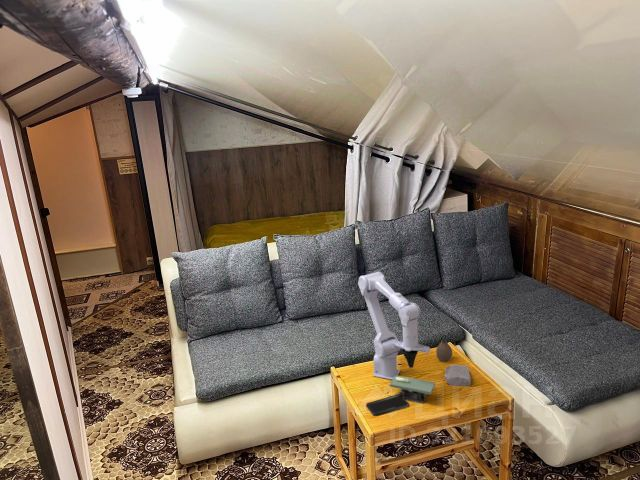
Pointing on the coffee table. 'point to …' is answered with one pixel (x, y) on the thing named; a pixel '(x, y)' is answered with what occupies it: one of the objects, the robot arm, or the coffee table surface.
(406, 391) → the tribrach base
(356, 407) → the coffee table surface
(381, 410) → the phone
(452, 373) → the stone block
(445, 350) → the vase
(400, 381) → the plate
